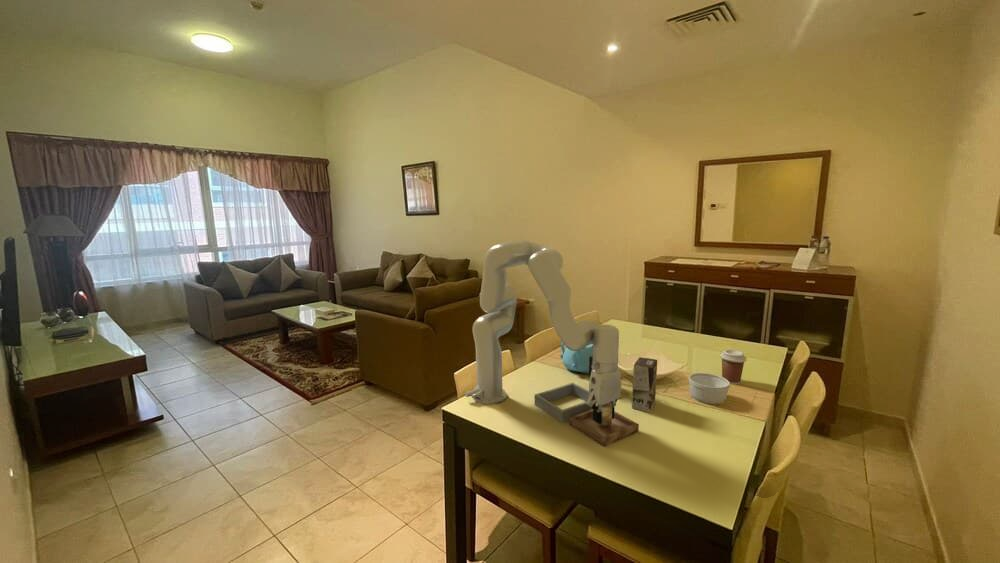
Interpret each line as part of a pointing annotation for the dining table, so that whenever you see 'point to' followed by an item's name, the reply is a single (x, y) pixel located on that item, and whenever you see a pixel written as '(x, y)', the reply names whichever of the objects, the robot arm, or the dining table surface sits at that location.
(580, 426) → the walnut tray
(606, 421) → the maple spool
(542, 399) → the gray square frame
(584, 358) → the decorative pot
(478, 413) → the dining table surface
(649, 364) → the coffee box
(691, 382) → the ramekin
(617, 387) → the robot arm
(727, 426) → the dining table surface
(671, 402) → the dining table surface
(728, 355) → the coffee cup
